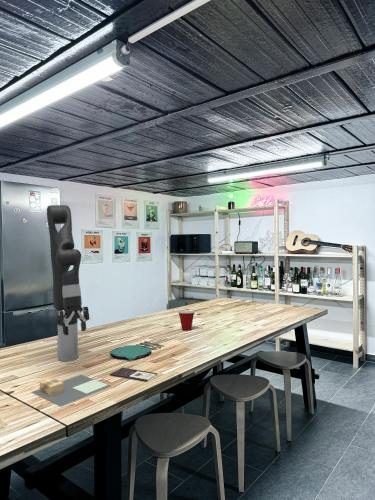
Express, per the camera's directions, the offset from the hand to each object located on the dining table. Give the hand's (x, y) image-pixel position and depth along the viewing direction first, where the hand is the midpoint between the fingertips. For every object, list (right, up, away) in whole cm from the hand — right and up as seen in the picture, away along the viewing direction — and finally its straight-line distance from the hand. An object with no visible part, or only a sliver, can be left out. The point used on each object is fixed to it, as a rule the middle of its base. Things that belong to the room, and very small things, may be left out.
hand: (75, 333), depth 155 cm
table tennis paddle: (+23, -17, +30) cm, 41 cm away
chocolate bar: (+26, -18, -3) cm, 31 cm away
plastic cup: (+48, -15, +74) cm, 89 cm away
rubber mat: (+5, -18, -18) cm, 26 cm away
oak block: (-2, -17, -20) cm, 27 cm away
